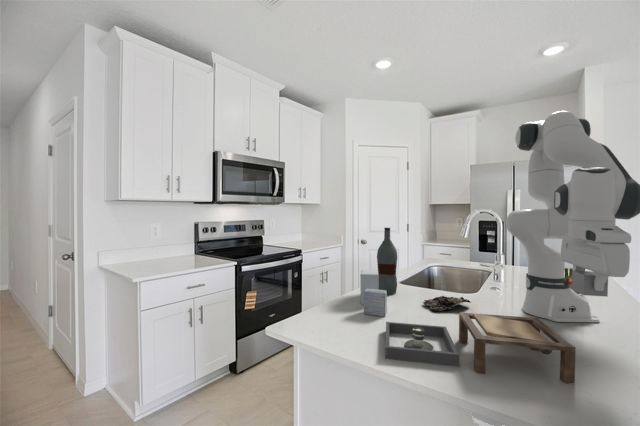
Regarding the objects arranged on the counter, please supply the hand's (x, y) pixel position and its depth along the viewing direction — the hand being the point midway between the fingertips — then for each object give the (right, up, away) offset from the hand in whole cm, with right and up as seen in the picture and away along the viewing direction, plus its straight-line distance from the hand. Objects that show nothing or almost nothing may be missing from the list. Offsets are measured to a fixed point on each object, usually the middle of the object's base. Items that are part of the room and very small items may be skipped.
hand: (589, 286), depth 77 cm
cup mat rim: (-40, -20, +10) cm, 46 cm away
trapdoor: (-18, -15, +3) cm, 24 cm away
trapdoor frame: (-18, -20, +3) cm, 27 cm away
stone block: (0, -2, 0) cm, 2 cm away
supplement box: (-47, -19, +50) cm, 71 cm away
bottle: (-37, -18, +64) cm, 76 cm away
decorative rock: (-18, -19, +45) cm, 52 cm away
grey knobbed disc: (-40, -20, +10) cm, 46 cm away
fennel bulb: (+48, -19, +62) cm, 81 cm away
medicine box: (-47, -19, +37) cm, 63 cm away
